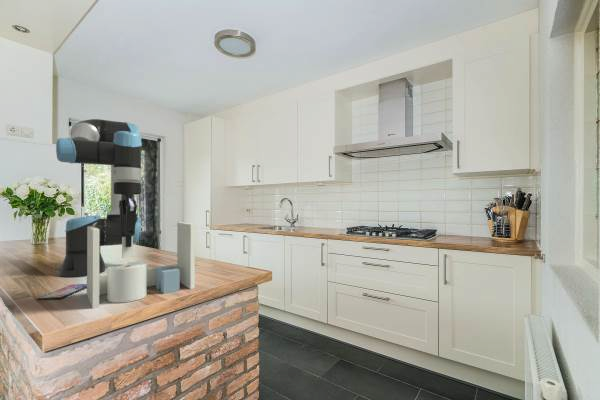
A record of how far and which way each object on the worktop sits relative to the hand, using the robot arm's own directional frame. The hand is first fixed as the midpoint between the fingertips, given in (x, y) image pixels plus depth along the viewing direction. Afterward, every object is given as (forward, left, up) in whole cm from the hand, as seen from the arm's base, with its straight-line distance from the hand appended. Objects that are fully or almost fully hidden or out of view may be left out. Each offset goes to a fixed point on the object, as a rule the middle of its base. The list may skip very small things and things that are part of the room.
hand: (127, 257), depth 93 cm
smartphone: (-18, -14, -13) cm, 26 cm away
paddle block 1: (-3, +12, -13) cm, 18 cm away
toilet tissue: (0, 0, -13) cm, 13 cm away
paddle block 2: (+3, +12, -13) cm, 18 cm away
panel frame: (-2, +5, -12) cm, 13 cm away
